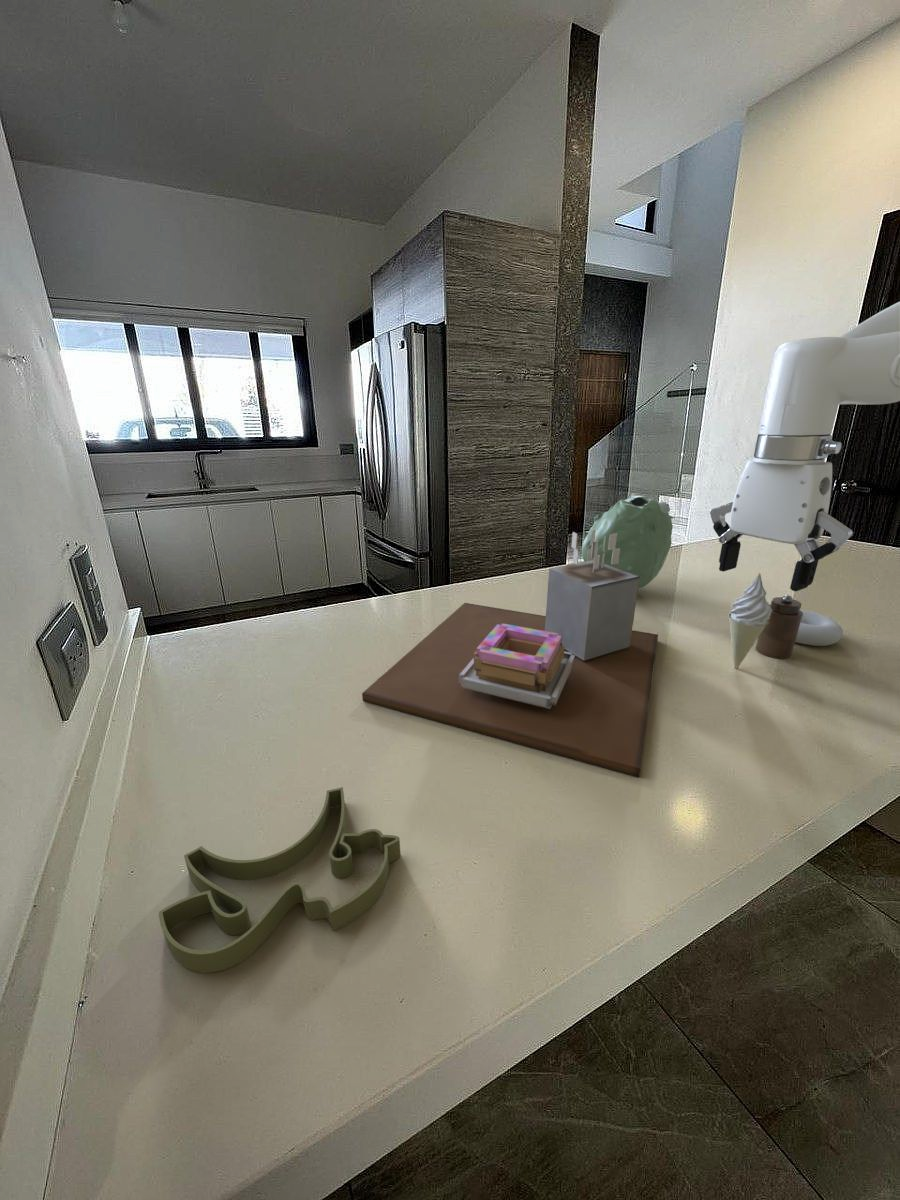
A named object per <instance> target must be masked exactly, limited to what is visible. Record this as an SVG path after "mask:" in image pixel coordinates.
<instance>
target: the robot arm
mask: <svg viewBox="0 0 900 1200" xmlns="http://www.w3.org/2000/svg"><path fill="white" fill-rule="evenodd" d="M774 352H775V353H774V355H773V357H772V361H771V366H770V372H769V377H768V381H767V387H766V391H765V398H764V402H763V407H762V413H761V416H760V422H759V426H758V431H757V437H756V443H755V448H754V452H753V457H752V458H751V459H748V461H747V462H746V464H745V467H744V468H743V470H742V473H741V476H740V479H739V481H738V484H737V488H736V492H735V494H734V498H733V501H730V502H729V503H725V504H722V505H719V506H717V507H714V508H712V509H710V511H709V514H710V519H711V521H712V524H713V526H712V529H713V531H714V532H715V533H716V535H717V537H718V542H719V543H720V544H721V548H720V553H719V558H718V563H719V567H718V570H719V572H723V573H724V572H727V571H729V570H733V569H736V568H737V565H738V561H739V556H740V550H741V541H739V539H740V538H741V537H743V536H747V537H753V538H756V539H761V540H762V539H763V540H767V541H772V542H777V543H782V544H787V545H794V547H795V549H796V551H797V552H798V554H799V556H800V558H801V560H797V561H796V563H795V567H794V569H793V574H792V578H791V581H790V586H789V589H790V591H793V592H798V591H802V590H804V589H806V588H808V587H809V586H810V585H812V584H813V582H814V578H815V575H816V572H817V569H818V568H817V567H818V564H819V560H822V559H824V558H825V557H827V556H829V555H831V554H833V553H835V552H837V551H838V550H840V547H841V546H843V545H844V544H845V543H846V542H847V541H848V540H849V539H850V538H851V537H852V536H853V534H854V532H853V530H852V529H851V528H849V527H848V526H846V525H845V524H844V523H842V522H840V521H839V520H838V519H836V518H835V517H833V516H832V515H830V514H829V509H830V503H831V495H832V487H833V463H832V462H831V461H825V460H826V459H827V458H828V456H829V455H831V454H834V455H838V454H839V453H840V452H841V449H842V442H841V441H834V440H833V437H834V436H833V435H832V433H833V428H834V424H835V420H836V417H837V414H838V409H839V405H861V406H863V405H865V406H866V405H872V406H873V405H888V404H889V405H890V404H894V403H897V402H900V301H898V302H896V303H894V304H892V305H890V306H889V307H886V308H884V309H883V310H880V311H879V312H877V313H876V314H874V315H872V316H870V317H869V318H867V319H865V320H863V321H862V322H860V323H858V324H857V325H855V326H854V327H853V328H851V329H849V330H848V331H846V332H845V333H843V334H841V335H839V336H818V337H817V336H816V337H807V338H801V339H795V340H790V341H787V342H785V343H783V344H781V345H780V346H779V347H778V348H777V349H776V351H774ZM727 514H730V515H729V521H728V522H729V524H728V522H727V521H726V515H727ZM825 531H826V532H828V533H829V534H830V538H829V539H828V540H827V542H826V543H823V544H822V545H820V543H819V541H818V539H820V538H822V536H823V535H824V532H825Z"/></svg>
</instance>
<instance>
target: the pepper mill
mask: <svg viewBox="0 0 900 1200" xmlns="http://www.w3.org/2000/svg"><path fill="white" fill-rule="evenodd" d="M769 605H770V607H771V609H772V612H771V615H770V619H769V620H768V622H769V623H768V625H766V626H765V628H764V629H763V631H762V632H761V634H760V635H759V637H758V639H757V640H756V643H755V650H756V652H757V653H759V654H761V655H763V656H765V657H768V658H772V659H777V660H778V659H779V660H784V659H789V658H791V656H792V653H793V651H794V647H795V643H796V642H795V640H796V637H797V633H798V630H799V626H800V623H801V620H802V616H803V612H802V611H800V610H801V609H802V603H801V602H800V601H798V600H797V599H794V598H793V597H792V596H791V595H788V594H787V595H783V596H777V597H776V596H775V597H773V598H771V600H770V604H769Z"/></svg>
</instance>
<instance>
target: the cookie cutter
mask: <svg viewBox="0 0 900 1200" xmlns="http://www.w3.org/2000/svg"><path fill="white" fill-rule="evenodd" d="M344 792H345V791H344V787H342V786H341V787H337V788H332V789H328V790H326V793H325V794H326V795H325V799H324V804H323V807H322V810H321V812H320V814H319V816H318V818H317V819H316V821H315V823H314V824H313V826H312V827H311V828H310V829H309V830H308V831H307V832H306V833H305V834H304V835H303V836H302V837H301V838H300V839H298V840H297V842H295V843H293V844H292V845H290V846H289V847H287V848H285V849H283V850H280V851H279V852H277V853H274V854H271V855H267V856H264V857H261V858H256V859H233V858H227V857H223V856H220V855H217V854H215V853H213V852H211V851H209V850H207V848H205V847H203V846H199V847H197V848H195V849H193V850H192V851H189V852H188V853H186V854H184V855H183V858H184V862H185V866H186V869H187V871H188V875H189V878H190V880H191V882H192V883H193V885H194V887H195V888H196V889H197V890H198V891H199V893H195V894H192V895H189V896H187V897H184V898H182V899H180V900H178V901H175V902H173V903H171V904H169V905H167V906H165V907H164V908H163V909H161V910H159V911H158V919H159V924H160V927H161V930H162V933H163V936H164V939H165V941H166V945H167V947H168V950H169V951H170V954H171V956H172V957H173V958H174V959H175V960H176V961H177V963H179V964H180V965H181V966H182V967H184V968H185V969H188V970H190V971H192V972H196V973H201V974H211V973H218V972H222V971H225V970H228V969H230V968H232V967H235V966H237V965H239V964H240V963H242V962H243V961H245V960H246V959H247V958H249V957H250V956H251V955H252V954H253V953H254V952H256V950H257V949H259V948H260V946H261V945H262V944H263V943H264V942H265V941H266V940H267V938H268V937H269V936H270V935H271V934H272V933H273V931H274V930H275V929H276V928H277V926H278V925H279V924H280V922H281V921H282V920H283V918H284V917H285V916H286V915H287V914H288V912H289V911H290V910H291V909H292V908H293V907H294V906H295V905H297V904H299V903H301V904H302V905H303V907H304V912H305V917H306V919H307V920H310V921H314V920H320V919H326V920H327V921H328V922H329V923H330V925H331V929H332V931H335V930H338V929H340V928H342V927H344V926H345V925H347V924H349V923H351V922H352V921H354V920H356V919H357V918H359V917H360V916H361V915H363V914H364V913H366V911H367V910H368V909H370V908H371V907H372V906H373V904H375V902H376V901H377V900H378V899H379V898H380V896H381V895H382V894H383V892H384V891H385V890H384V889H385V887H386V886H387V882H388V878H389V874H390V873H389V872H390V863H392V862H395V861H396V860H398V859H399V858H400V857H401V842H400V841H401V839H400V837H399V836H397V835H393V834H383V833H382V832H381V830H379V829H377V828H370V829H366V830H363V831H361V832H357V833H356V832H355V833H354V832H353V833H352V832H351V833H350V832H349V833H347V810H346V802H345V801H346V800H345V794H344ZM340 806H341V807H340ZM335 807H340V808H341V809H340V810H341V811H340V819H339V820H340V821H339V824H338V829H337V832H336V836H335V838H334V841H333V843H332V845H331V847H330V849H329V851H328V855H329V856H328V857H329V863H330V870H331V874H332V876H334V877H335V878H337V879H342V878H343V879H344V878H347V877H349V876H350V875H351V874H352V873H353V871H354V863H353V862H354V861H353V854H352V853H363V852H365V851H368V850H370V849H377V850H379V851H380V852H381V854H382V855H383V861H382V864H381V867H380V869H379V870H378V872H377V874H376V875H375V877H374V878H373V879H372V880H371V882H369V884H367V886H366V887H365V888H363V889H362V890H361V891H360V892H358V893H357V894H356V895H354V896H352V897H351V898H349V899H348V900H345V901H344V902H342V903H340V904H339V905H337V906H335V907H333V904H332V903H331V902H330V900H329V899H328V898H326V897H324V896H318V897H312V898H308V896H307V895H308V894H307V890H306V887H305V885H304V884H303V882H301V881H295V882H292V883H291V884H289V885H287V887H285V888H284V889H283V891H281V893H280V894H279V895H278V897H276V898H275V900H274V901H273V902H272V904H271V905H270V906H269V907H268V908H267V910H266V911H265V912H264V913H263V914H262V915H261V917H259V919H258V920H257V921H256V922H255V923H254V924H253V925H252V923H251V917H250V914H249V911H248V906H247V903H246V902H245V900H243V899H242V898H241V897H239V896H238V895H235V894H233V893H232V892H229V891H228V890H226V889H224V888H222V887H221V886H218V885H217V884H215V883H214V882H212V881H211V880H209V879H208V878H207V877H205V876H204V875H203V874H201V873H200V872H199V870H200V869H202V868H206V869H208V870H209V871H211V872H213V873H214V874H216V875H219V876H221V877H224V878H227V879H232V880H236V881H237V880H238V881H256V880H261V879H266V878H271V877H273V876H276V875H279V874H281V873H283V872H286V871H288V870H289V869H292V868H293V867H294V866H296V865H297V864H299V863H300V862H302V861H303V860H304V859H305V858H307V857H308V855H310V854H311V852H312V851H313V850H314V849H315V848H316V847H317V845H318V844H319V843H320V841H321V840H322V838H323V836H324V834H325V832H326V830H327V828H328V826H329V822H330V819H331V814H332V813H331V812H332V808H335ZM218 906H219V907H220V908H222V909H224V910H225V911H227V912H229V913H227V912H224V911H223V910H222V909H220V908H219V907H218ZM208 913H212V915H213V918H214V922H216V924H217V926H218V928H219V929H220V930H221V931H222V932H224V933H225V934H226V935H229V936H239V937H237V939H235V940H233V941H231V942H229V943H228V944H225V945H223V946H220V947H217V948H212V949H202V950H201V949H199V950H198V949H192V948H189V947H186V946H184V945H182V944H180V943H179V942H178V941H176V939H174V938H173V936H172V934H170V930H173V929H174V928H175V927H177V926H179V925H181V924H183V923H185V922H187V921H189V920H191V919H194V918H196V917H199V916H201V915H205V914H208ZM240 935H241V936H240Z"/></svg>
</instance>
